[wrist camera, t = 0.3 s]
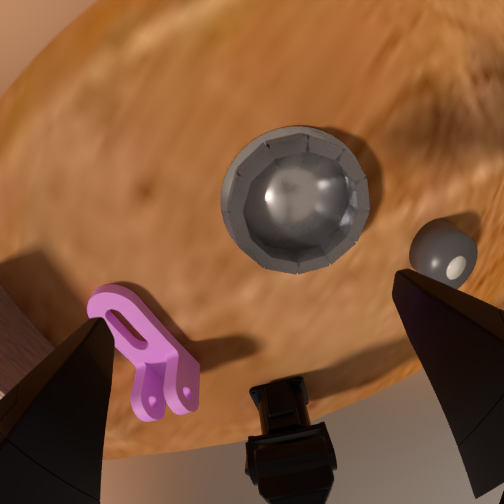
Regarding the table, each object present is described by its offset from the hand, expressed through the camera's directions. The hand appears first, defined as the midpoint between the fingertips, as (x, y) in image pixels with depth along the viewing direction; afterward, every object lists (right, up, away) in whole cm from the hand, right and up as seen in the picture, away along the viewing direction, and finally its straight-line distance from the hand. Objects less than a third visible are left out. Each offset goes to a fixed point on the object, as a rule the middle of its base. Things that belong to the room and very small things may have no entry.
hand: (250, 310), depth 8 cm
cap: (+18, +2, +17) cm, 25 cm away
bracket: (-11, -6, +19) cm, 23 cm away
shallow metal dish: (+3, +5, +14) cm, 15 cm away
